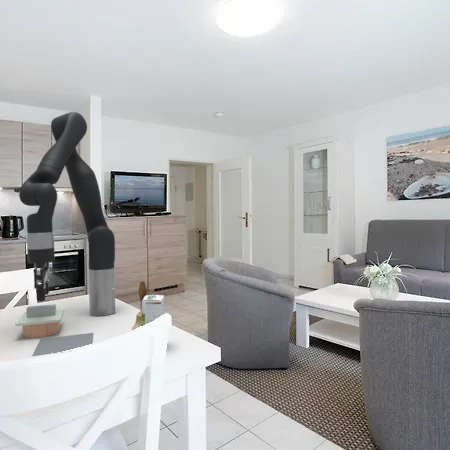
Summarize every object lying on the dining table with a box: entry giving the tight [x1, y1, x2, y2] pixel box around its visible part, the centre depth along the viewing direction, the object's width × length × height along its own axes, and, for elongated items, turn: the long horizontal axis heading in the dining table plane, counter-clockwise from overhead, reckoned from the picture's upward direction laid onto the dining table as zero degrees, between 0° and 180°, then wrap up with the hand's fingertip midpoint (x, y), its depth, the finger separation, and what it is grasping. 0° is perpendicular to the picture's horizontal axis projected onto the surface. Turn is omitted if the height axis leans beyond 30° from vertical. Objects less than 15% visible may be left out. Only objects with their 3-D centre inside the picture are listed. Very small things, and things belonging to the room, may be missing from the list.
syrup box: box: [142, 294, 165, 326], centre depth 98 cm, size 6×6×14 cm
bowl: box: [22, 321, 61, 339], centre depth 109 cm, size 10×10×5 cm
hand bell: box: [131, 280, 148, 331], centre depth 112 cm, size 8×8×16 cm
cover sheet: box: [15, 303, 66, 327], centre depth 109 cm, size 12×12×4 cm
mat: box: [31, 332, 95, 357], centre depth 100 cm, size 15×13×1 cm
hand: (43, 297), depth 108 cm, fingers open, 8 cm apart
